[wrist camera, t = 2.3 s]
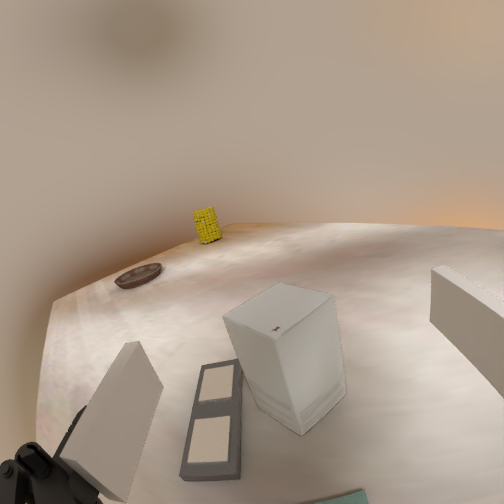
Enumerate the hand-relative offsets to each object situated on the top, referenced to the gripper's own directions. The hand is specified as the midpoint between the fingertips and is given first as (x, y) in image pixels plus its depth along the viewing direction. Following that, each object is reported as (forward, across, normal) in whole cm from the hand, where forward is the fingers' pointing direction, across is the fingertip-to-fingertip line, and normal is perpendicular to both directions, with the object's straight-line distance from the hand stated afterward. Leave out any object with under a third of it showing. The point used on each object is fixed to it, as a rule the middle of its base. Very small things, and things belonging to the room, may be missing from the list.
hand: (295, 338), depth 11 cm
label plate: (+12, -10, -17) cm, 23 cm away
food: (+106, -22, -17) cm, 110 cm away
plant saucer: (+75, -44, -18) cm, 89 cm away
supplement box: (+12, 0, -17) cm, 21 cm away
